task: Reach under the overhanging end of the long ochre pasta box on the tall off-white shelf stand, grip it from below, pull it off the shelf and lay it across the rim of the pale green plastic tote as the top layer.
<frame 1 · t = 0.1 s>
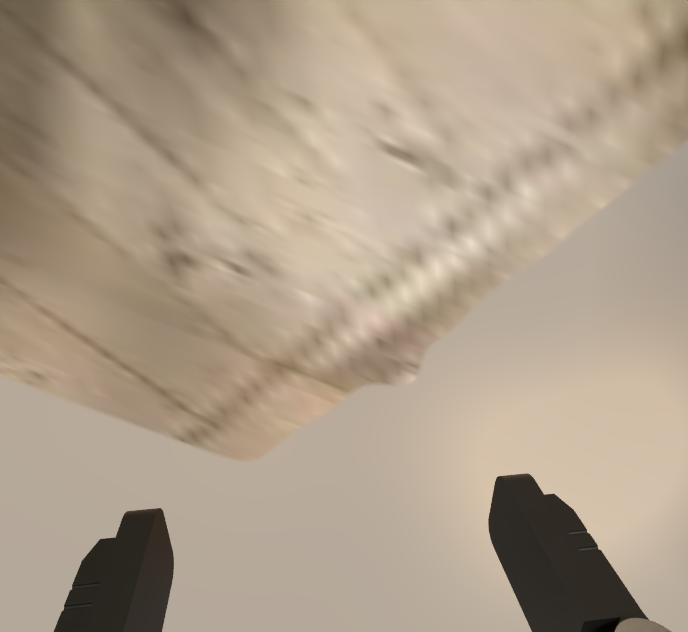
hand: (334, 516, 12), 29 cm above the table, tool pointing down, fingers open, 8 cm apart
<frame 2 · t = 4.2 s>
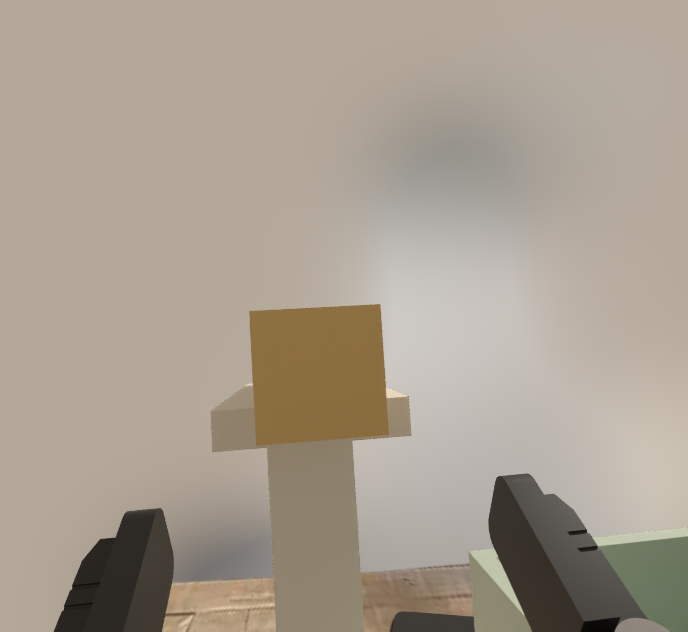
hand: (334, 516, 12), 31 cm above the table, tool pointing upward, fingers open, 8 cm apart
pasta box: (309, 396, 29), point 32 cm above the table, touching shelf stand
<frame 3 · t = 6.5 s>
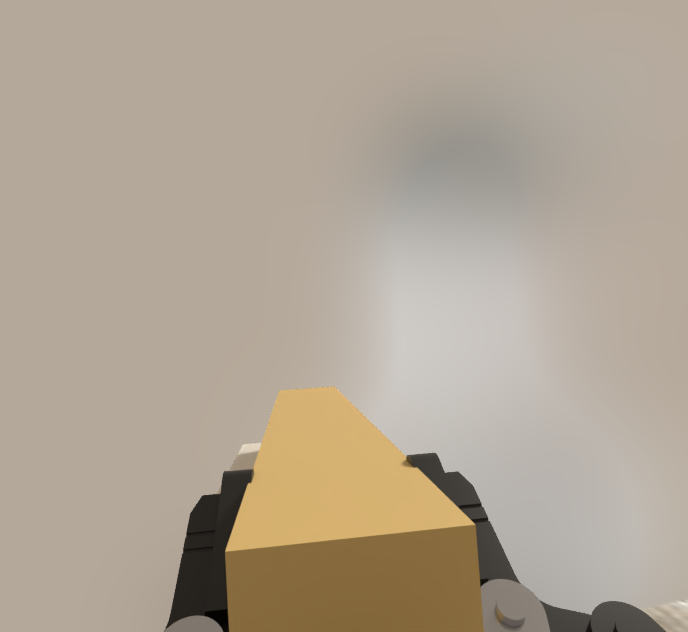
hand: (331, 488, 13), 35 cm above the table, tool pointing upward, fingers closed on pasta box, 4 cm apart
pasta box: (320, 507, 21), point 32 cm above the table, touching gripper, shelf stand
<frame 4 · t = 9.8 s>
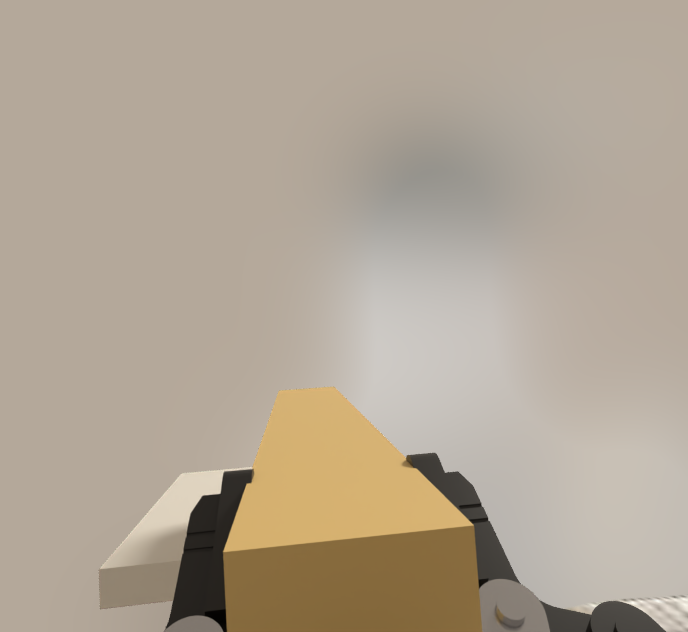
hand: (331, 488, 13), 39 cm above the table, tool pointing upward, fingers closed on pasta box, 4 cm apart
pasta box: (320, 507, 21), point 36 cm above the table, touching gripper
when the fingers open (27 cm above the table, at t = 13.4 s): pasta box drops 1 cm, resting on tote.
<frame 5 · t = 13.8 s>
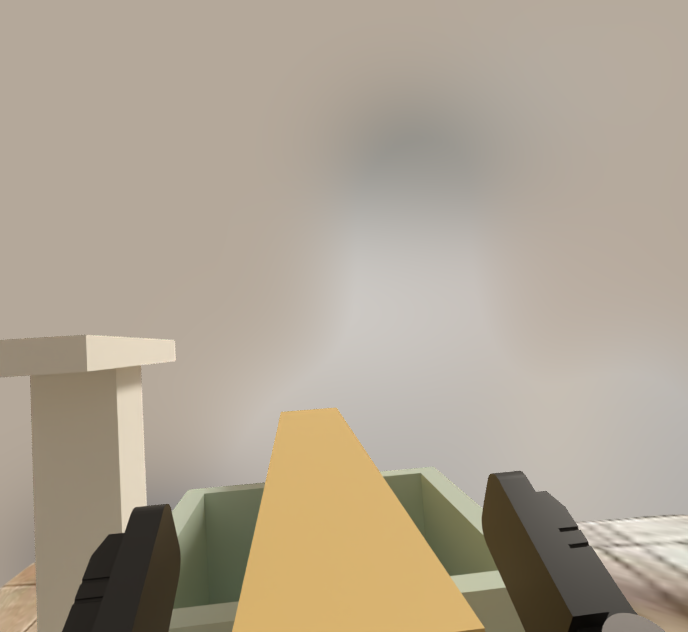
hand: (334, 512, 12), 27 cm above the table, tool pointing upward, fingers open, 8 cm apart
pasta box: (323, 544, 21), point 22 cm above the table, touching tote
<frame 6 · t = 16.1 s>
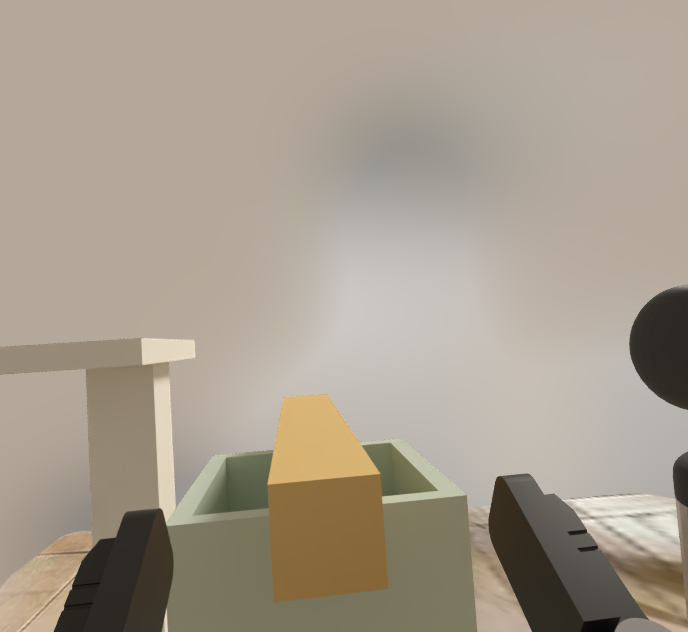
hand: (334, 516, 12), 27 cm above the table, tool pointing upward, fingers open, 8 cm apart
pasta box: (314, 482, 31), point 22 cm above the table, touching tote
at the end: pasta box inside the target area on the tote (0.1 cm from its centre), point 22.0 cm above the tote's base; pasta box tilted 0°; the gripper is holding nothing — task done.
